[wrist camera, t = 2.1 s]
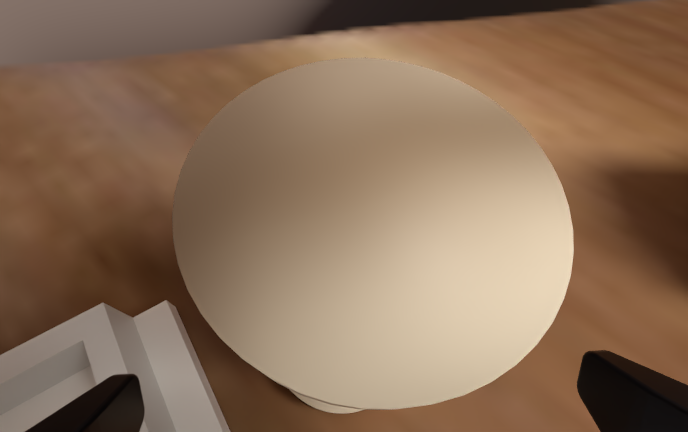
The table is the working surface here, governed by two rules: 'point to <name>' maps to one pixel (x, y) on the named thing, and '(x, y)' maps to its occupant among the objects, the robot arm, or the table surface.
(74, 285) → the table surface
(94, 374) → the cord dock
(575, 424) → the table surface
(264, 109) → the disc
